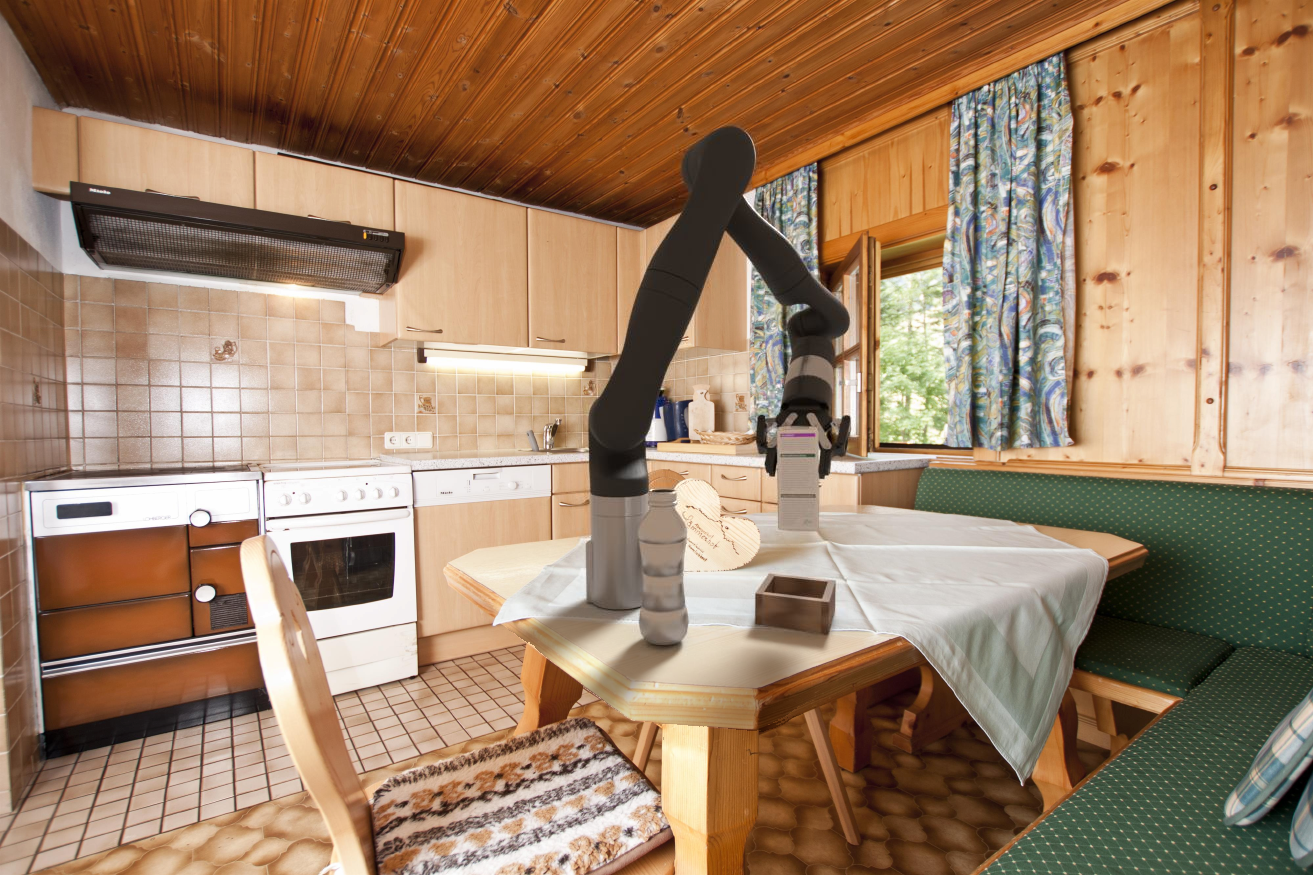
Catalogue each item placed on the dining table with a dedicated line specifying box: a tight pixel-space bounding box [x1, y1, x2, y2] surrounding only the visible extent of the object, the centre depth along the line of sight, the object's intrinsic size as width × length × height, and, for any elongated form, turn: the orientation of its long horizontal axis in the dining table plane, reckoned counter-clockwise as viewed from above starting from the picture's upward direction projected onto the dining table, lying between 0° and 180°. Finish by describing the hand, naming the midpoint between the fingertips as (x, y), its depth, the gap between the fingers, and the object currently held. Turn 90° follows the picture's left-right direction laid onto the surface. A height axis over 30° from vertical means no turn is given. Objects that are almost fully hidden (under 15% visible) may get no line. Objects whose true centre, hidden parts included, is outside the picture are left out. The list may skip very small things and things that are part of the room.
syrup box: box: [776, 426, 820, 533], centre depth 83 cm, size 6×6×14 cm
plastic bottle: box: [638, 488, 690, 646], centre depth 76 cm, size 6×7×20 cm
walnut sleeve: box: [754, 573, 837, 636], centre depth 85 cm, size 10×10×4 cm
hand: (796, 474), depth 82 cm, fingers closed on syrup box, 6 cm apart
